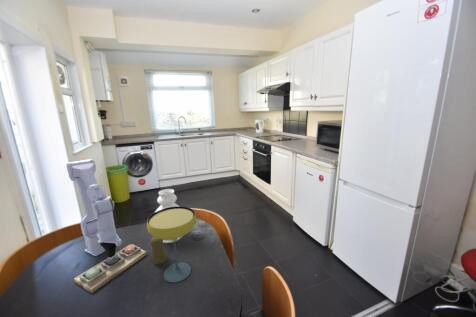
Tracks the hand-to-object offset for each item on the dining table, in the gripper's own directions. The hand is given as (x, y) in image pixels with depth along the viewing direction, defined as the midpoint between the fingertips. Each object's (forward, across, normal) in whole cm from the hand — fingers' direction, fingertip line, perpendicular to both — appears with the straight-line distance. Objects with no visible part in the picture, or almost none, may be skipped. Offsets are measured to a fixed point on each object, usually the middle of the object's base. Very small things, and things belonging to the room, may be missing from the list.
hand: (111, 255), depth 89 cm
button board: (+5, 0, 0) cm, 5 cm away
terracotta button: (+4, 0, +8) cm, 9 cm away
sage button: (+4, 0, -8) cm, 9 cm away
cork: (+6, +14, +12) cm, 19 cm away
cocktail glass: (+6, +27, +10) cm, 29 cm away
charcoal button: (+3, 0, 0) cm, 3 cm away
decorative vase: (+6, +5, +28) cm, 29 cm away
